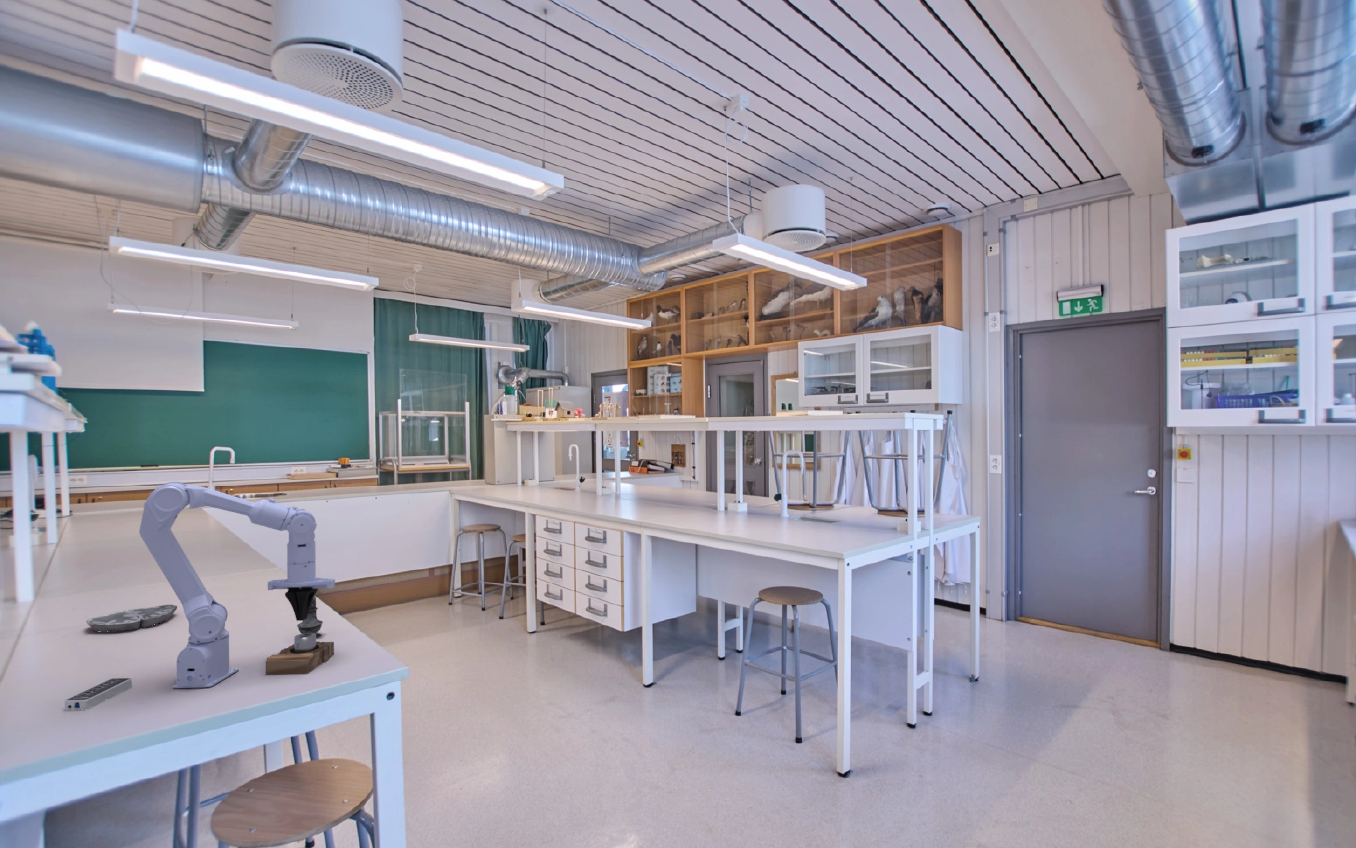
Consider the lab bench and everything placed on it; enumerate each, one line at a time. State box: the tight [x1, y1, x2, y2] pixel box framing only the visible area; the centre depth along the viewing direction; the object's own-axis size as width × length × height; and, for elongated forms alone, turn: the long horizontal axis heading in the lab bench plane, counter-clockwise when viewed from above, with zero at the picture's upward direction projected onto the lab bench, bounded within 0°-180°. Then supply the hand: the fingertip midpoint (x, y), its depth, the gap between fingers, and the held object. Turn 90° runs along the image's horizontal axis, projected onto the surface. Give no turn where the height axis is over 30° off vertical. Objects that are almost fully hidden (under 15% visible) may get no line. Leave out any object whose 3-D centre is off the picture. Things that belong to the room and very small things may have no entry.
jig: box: [265, 640, 335, 676], centre depth 145 cm, size 12×10×4 cm
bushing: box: [293, 633, 317, 654], centre depth 147 cm, size 4×4×6 cm
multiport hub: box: [64, 677, 133, 711], centre depth 128 cm, size 4×11×2 cm, turn 3°
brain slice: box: [86, 604, 178, 633], centre depth 176 cm, size 20×17×3 cm
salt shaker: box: [296, 595, 324, 640], centre depth 164 cm, size 6×6×12 cm
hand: (301, 619), depth 147 cm, fingers closed
